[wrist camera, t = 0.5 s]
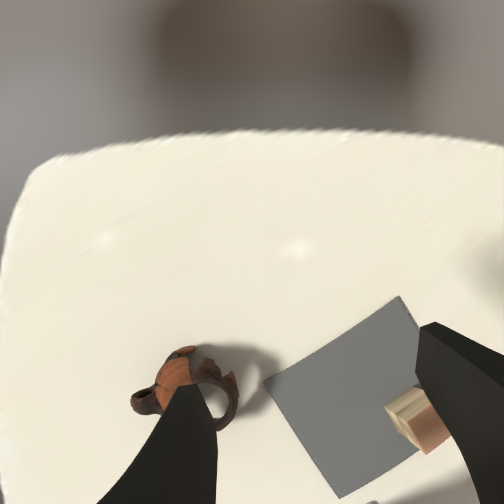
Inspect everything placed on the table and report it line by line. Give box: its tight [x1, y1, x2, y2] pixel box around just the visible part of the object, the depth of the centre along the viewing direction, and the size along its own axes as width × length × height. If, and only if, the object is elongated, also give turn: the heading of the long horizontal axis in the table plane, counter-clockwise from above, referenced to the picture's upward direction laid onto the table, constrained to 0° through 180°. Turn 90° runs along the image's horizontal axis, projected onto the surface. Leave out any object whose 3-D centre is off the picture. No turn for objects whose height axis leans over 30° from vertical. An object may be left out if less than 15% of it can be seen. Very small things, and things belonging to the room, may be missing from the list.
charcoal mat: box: [263, 297, 423, 499], centre depth 31 cm, size 18×18×1 cm
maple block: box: [384, 386, 451, 455], centre depth 26 cm, size 4×4×9 cm
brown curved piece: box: [130, 346, 239, 431], centre depth 32 cm, size 12×10×8 cm
